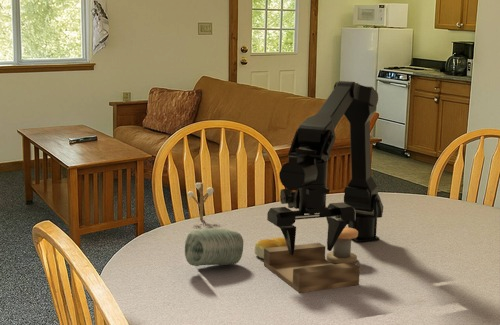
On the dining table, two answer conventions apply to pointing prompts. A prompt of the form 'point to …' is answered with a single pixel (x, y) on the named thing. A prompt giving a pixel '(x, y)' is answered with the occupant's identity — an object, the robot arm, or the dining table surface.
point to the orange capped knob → (343, 247)
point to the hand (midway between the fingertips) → (310, 252)
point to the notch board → (309, 268)
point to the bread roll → (268, 245)
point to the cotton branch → (201, 196)
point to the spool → (213, 247)
